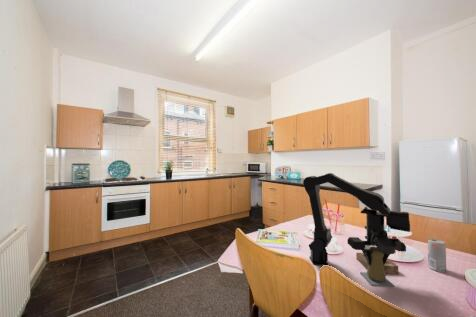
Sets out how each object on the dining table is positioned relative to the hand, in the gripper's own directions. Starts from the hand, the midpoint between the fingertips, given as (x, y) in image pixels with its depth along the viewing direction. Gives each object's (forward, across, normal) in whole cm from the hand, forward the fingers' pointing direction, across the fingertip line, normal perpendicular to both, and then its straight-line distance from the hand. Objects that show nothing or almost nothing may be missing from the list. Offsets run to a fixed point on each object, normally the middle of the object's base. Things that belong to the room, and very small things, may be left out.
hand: (375, 265), depth 76 cm
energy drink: (+6, +30, +10) cm, 32 cm away
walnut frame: (+5, +6, +10) cm, 13 cm away
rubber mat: (+5, 0, 0) cm, 5 cm away
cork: (+4, 0, 0) cm, 4 cm away
